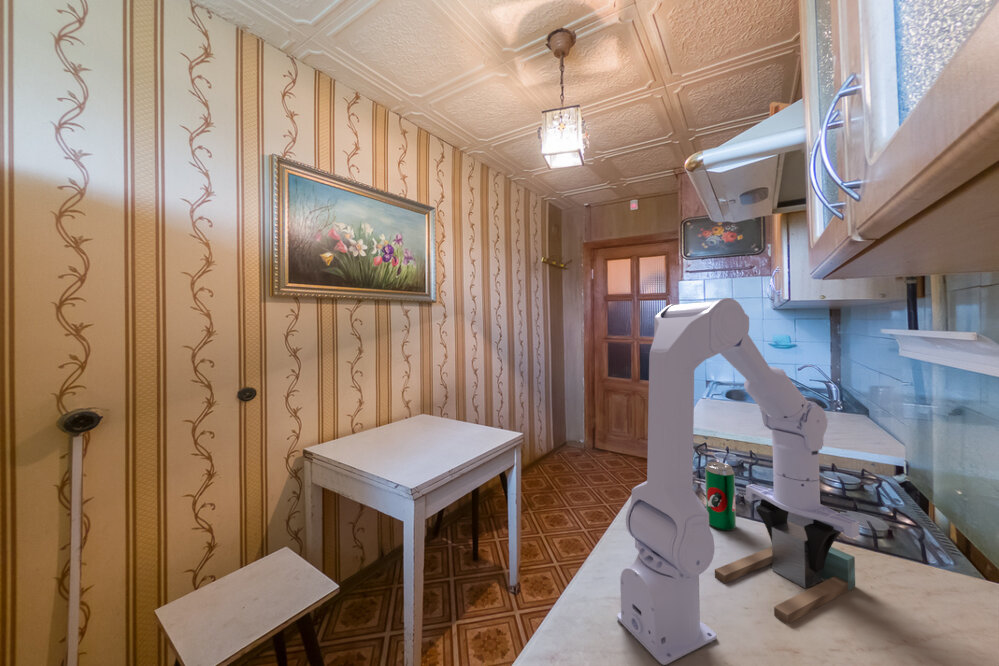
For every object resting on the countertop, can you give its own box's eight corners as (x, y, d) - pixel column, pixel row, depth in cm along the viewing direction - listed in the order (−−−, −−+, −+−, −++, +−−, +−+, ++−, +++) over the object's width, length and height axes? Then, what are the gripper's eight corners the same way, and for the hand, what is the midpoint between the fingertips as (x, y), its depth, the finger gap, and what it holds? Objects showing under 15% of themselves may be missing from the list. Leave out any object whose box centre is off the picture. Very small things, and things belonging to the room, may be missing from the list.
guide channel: (787, 624, 47) (786, 590, 47) (714, 577, 57) (714, 548, 57) (855, 586, 54) (854, 556, 54) (780, 550, 63) (779, 524, 63)
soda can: (740, 533, 69) (739, 470, 69) (711, 530, 70) (710, 469, 70) (729, 519, 74) (727, 461, 74) (702, 517, 75) (701, 460, 75)
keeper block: (805, 588, 54) (804, 541, 54) (772, 570, 58) (771, 527, 58) (822, 580, 56) (821, 534, 56) (789, 563, 60) (788, 521, 60)
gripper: (869, 486, 52) (872, 580, 52) (762, 456, 65) (764, 531, 65) (843, 496, 49) (845, 595, 49) (737, 462, 63) (739, 540, 62)
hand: (797, 559), depth 57 cm, fingers closed on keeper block, 4 cm apart
